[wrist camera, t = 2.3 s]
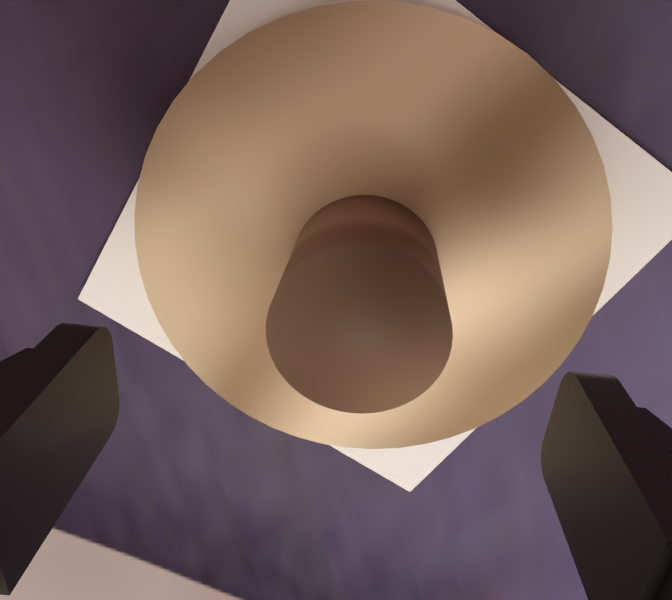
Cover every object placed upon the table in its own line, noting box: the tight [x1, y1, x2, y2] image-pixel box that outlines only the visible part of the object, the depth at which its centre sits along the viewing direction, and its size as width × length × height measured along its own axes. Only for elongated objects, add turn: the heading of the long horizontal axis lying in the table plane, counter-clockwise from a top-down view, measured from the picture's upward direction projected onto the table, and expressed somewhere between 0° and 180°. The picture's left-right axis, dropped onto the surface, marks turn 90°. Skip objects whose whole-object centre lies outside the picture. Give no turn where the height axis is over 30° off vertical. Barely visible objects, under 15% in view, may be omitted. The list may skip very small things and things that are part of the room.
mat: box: [78, 0, 672, 492], centre depth 17 cm, size 13×13×1 cm
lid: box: [134, 1, 613, 449], centre depth 14 cm, size 13×13×5 cm
